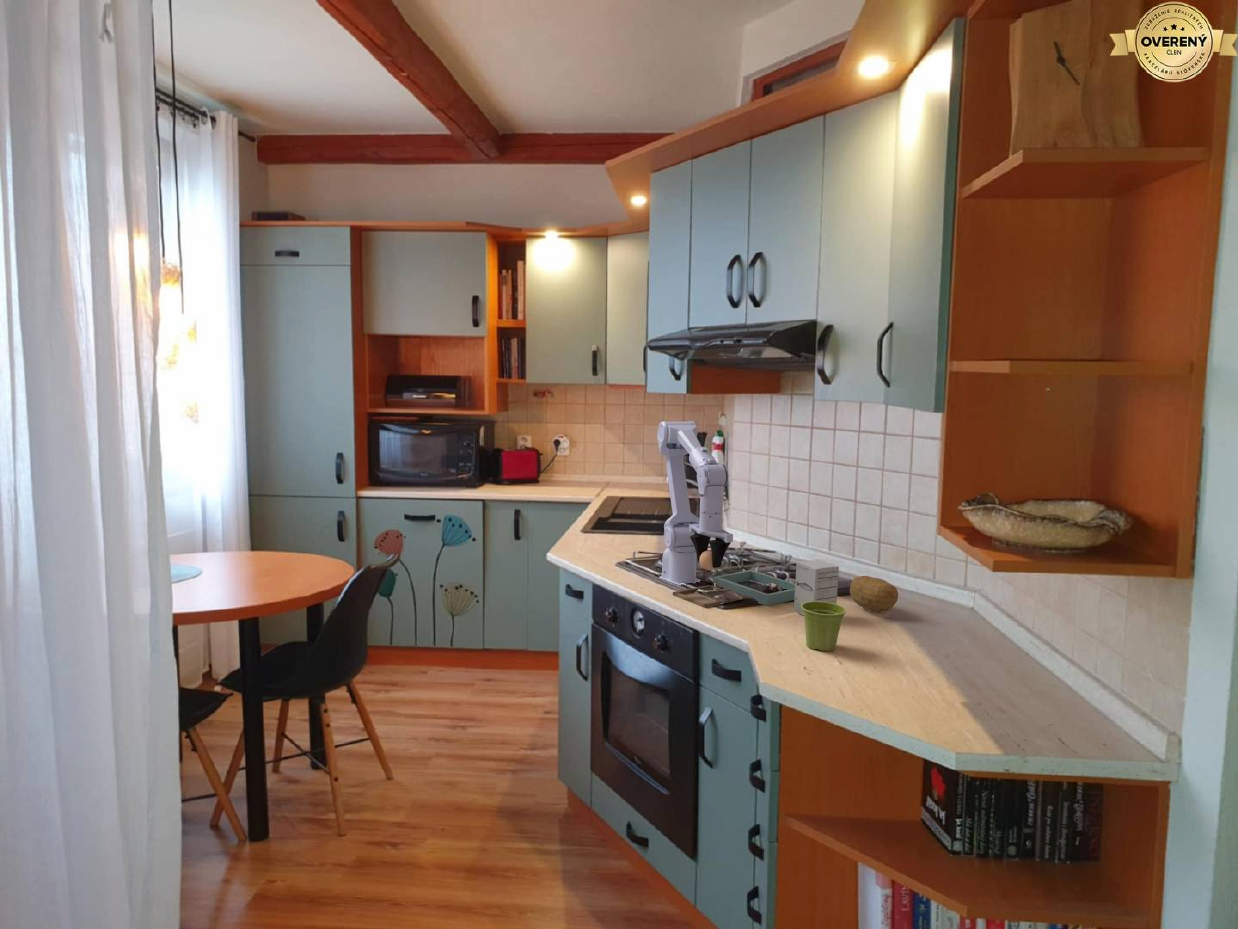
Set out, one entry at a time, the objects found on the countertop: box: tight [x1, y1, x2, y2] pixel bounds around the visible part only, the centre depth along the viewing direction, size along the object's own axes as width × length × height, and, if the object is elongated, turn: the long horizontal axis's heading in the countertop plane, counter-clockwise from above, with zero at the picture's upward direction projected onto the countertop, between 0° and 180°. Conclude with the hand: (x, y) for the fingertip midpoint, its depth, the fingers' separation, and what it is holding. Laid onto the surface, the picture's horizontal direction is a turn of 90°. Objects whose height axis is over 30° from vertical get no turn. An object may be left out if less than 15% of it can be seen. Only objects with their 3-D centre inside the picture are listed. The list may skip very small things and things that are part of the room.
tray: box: [712, 569, 795, 607], centre depth 215 cm, size 20×14×3 cm
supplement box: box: [793, 558, 840, 616], centre depth 198 cm, size 7×7×13 cm
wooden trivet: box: [672, 584, 736, 609], centre depth 209 cm, size 13×13×1 cm
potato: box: [849, 575, 899, 613], centre depth 203 cm, size 10×14×8 cm
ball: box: [699, 549, 716, 571], centre depth 208 cm, size 5×5×5 cm
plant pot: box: [801, 601, 847, 652], centre depth 176 cm, size 9×9×9 cm
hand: (709, 564), depth 208 cm, fingers closed on ball, 5 cm apart
